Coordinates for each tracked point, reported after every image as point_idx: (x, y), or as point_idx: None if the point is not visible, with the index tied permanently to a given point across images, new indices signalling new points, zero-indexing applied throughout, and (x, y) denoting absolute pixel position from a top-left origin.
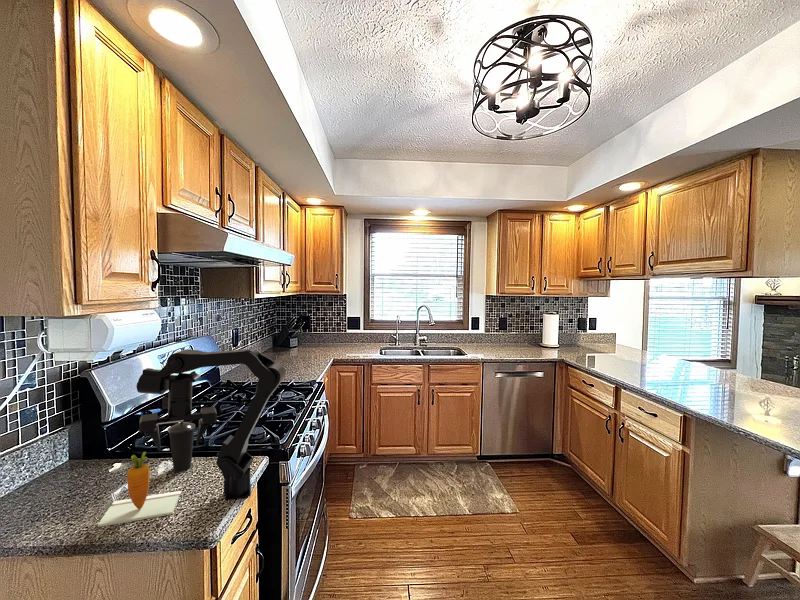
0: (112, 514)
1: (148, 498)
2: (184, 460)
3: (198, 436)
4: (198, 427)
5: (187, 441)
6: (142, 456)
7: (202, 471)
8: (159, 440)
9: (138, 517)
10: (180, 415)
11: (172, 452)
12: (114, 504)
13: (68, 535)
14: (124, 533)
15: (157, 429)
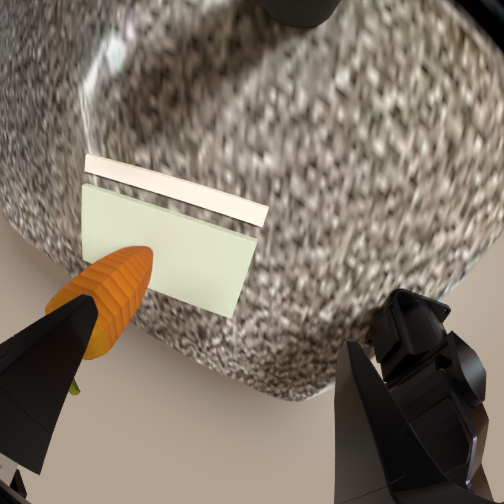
0: (96, 233)
1: (165, 194)
2: (304, 16)
3: (337, 454)
4: (373, 483)
5: None
6: None
7: (374, 80)
8: (58, 393)
9: (153, 289)
10: None
11: None
12: (89, 172)
13: (53, 250)
14: (140, 314)
15: (17, 463)
